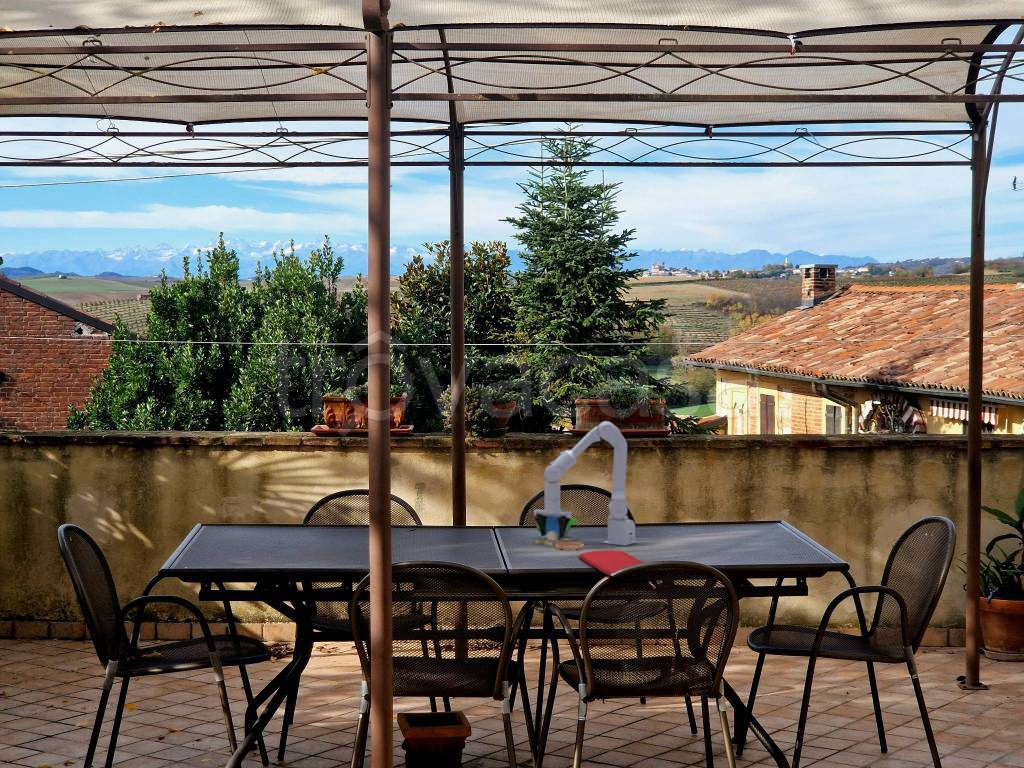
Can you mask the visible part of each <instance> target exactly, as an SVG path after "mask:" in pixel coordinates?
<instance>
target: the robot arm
mask: <svg viewBox="0 0 1024 768" xmlns="http://www.w3.org/2000/svg"><path fill="white" fill-rule="evenodd" d="M602 439H603V440H604V441H606V442H608V443H609V445H611V446H612V448H614V449H613V465H612V466H613V467H612V469H613V471H612V489H611V490H612V491H611V498H610V501H609V502H608V503H609V504H608V508H607V509H608V512H609V516H607V540H605V541H602V543H603V544H610V545H617V546H618V545H620V546H627V545H628V546H629V545H632V544H636V543H637V541H636V523H635V521H634V520H632V519H629V516H628V507H627V504H626V483H627V482H626V480H627V461H628V460H627V458H628V457H627V455H628V442H627V440H626V439H625V437H624V436H623V434H622V433H621V431H620V429H619V428H618V427H617V426H616V425H615V424H614V423H613V422H610V421H608V420H607V421H606V420H604V421H602V422H600V423H599V424H598V425H597V426H595V427H593V428H592V429H591V430H590V431H588V432H587V433H586V434H585V436H583V437H582V438H581V440H579V441H578V442H577V444H576V445H575V446H574V447H572V448H571V449H569V450H567V449H566V450H564V451H561V452H559V456H558V457H557V458H555V460H554V461H551V462H550V465H548V466H546V468H545V470H544V472H543V474H544V478H545V480H544V509H538V508H537V509H534V510H533V516H534V519H535V521H536V524H537V523H538V526H539V528H540V531H539V532H540V535H541V537H543V536H547V534H546V521H547V516H554V517H561V518H558V523H559V536H560V537H559V538H565V536H564V534H565V530H566V527H567V525H568V522H569V521H570V518H572V512H571V511H565V510H563V511H560V509H561V485H560V480H561V478H562V477H561V476H562V475H563V474H566V473H567V471H569V469H570V468H572V467H573V466H574V465H575V464H576V463H577V457H578V456H579V455H580V454H582V453H583V452H584V451H585V450H586V449H587V448H588V447H590V446H591V444H593V443H597V442H600V441H601V440H602ZM549 514H556V515H549Z"/></svg>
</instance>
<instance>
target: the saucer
mask: <svg viewBox="0 0 1024 768" xmlns="http://www.w3.org/2000/svg"><path fill="white" fill-rule="evenodd" d="M555 548H556V550H559V549H563V550H562V551H575V550H574V549H581V550H583V549H582V548H584V549H585V544H584V543H581V542H574V541H573V542H562V543H557V544H555V546H554V549H555Z"/></svg>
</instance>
